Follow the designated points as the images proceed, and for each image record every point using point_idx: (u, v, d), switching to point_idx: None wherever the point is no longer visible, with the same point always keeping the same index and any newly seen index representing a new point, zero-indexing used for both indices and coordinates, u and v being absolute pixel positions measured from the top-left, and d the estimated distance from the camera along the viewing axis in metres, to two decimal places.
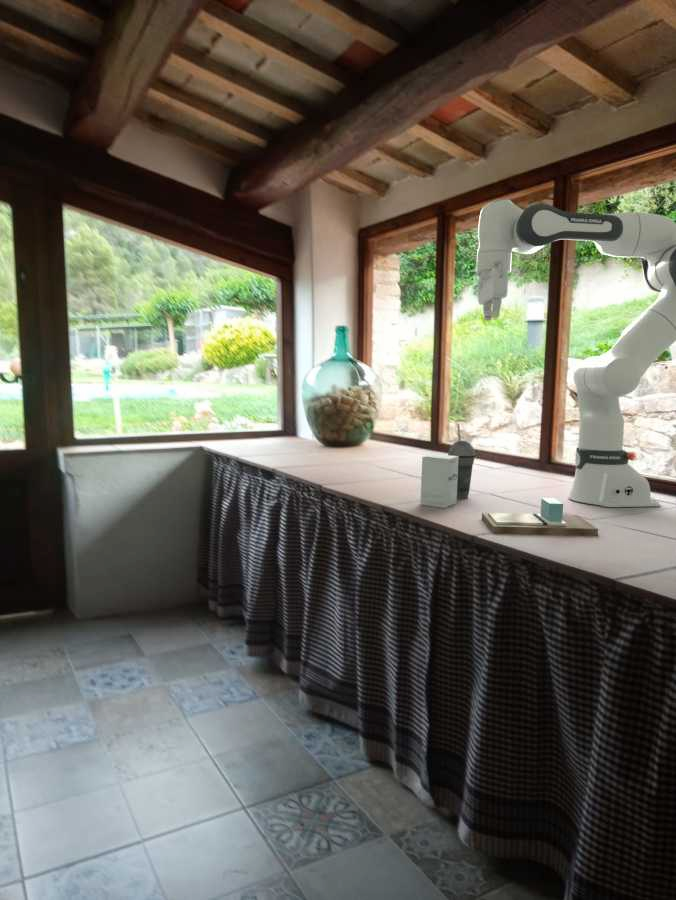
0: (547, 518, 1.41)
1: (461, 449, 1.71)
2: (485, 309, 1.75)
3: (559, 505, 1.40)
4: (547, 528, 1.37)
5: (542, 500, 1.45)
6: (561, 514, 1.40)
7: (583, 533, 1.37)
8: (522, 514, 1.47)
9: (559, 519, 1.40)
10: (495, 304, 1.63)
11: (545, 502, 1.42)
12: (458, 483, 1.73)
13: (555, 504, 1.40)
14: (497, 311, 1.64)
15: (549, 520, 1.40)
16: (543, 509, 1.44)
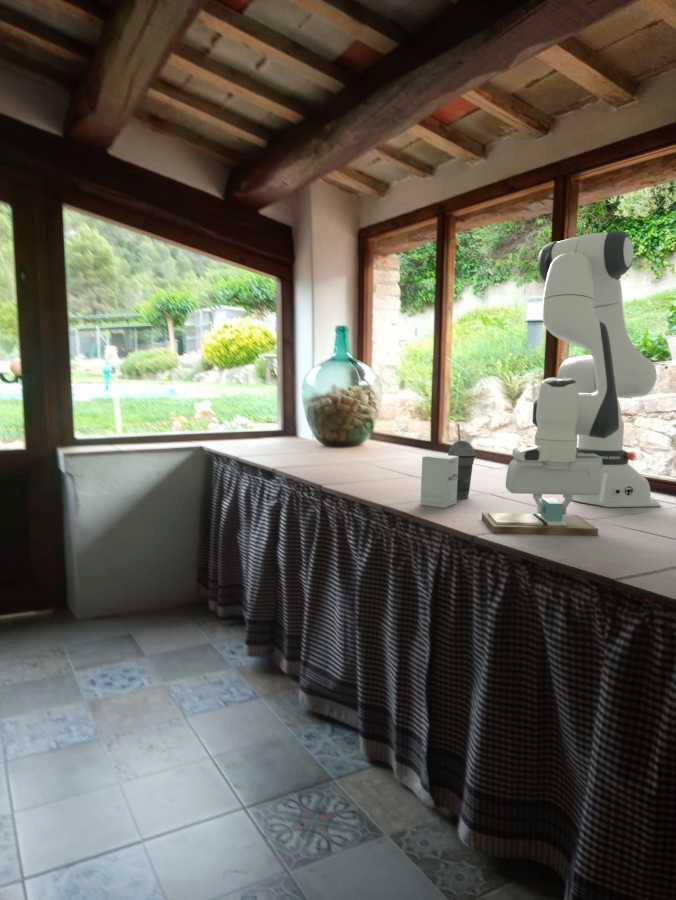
0: (547, 518, 1.41)
1: (461, 449, 1.71)
2: None
3: (559, 505, 1.40)
4: (547, 528, 1.37)
5: (542, 500, 1.45)
6: (561, 514, 1.40)
7: (583, 533, 1.37)
8: (522, 514, 1.47)
9: (559, 519, 1.40)
10: None
11: (545, 502, 1.42)
12: (458, 483, 1.73)
13: (555, 504, 1.40)
14: None
15: (549, 520, 1.40)
16: None
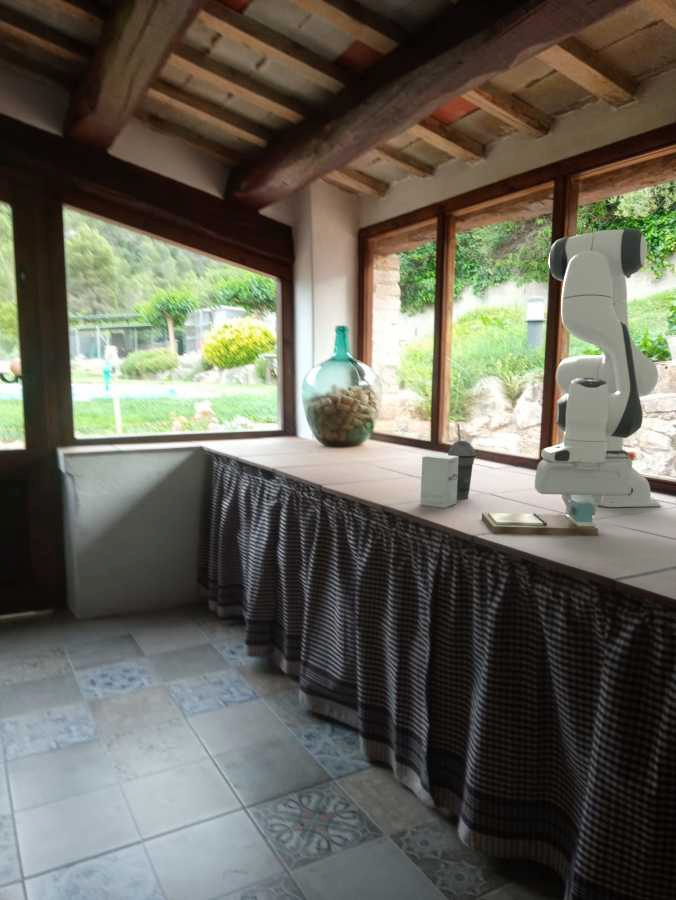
0: (577, 519, 1.41)
1: (461, 449, 1.71)
2: (568, 501, 1.42)
3: (589, 506, 1.39)
4: (547, 528, 1.37)
5: (571, 501, 1.45)
6: (591, 515, 1.40)
7: (583, 533, 1.37)
8: (522, 514, 1.47)
9: (589, 520, 1.40)
10: None
11: (574, 503, 1.42)
12: (458, 483, 1.73)
13: (585, 505, 1.39)
14: None
15: (579, 521, 1.40)
16: None
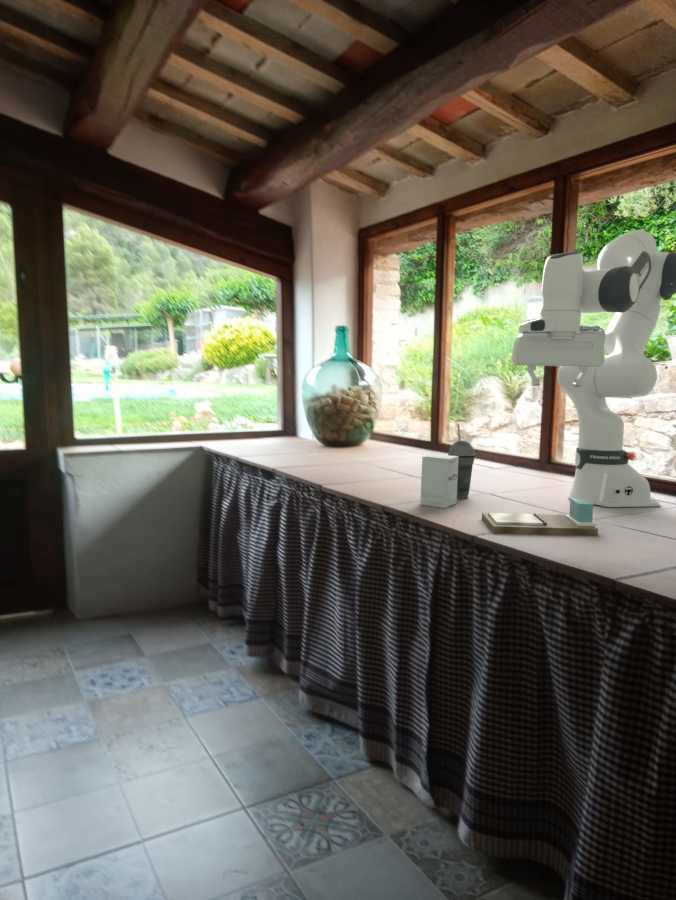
0: (577, 519, 1.41)
1: (461, 449, 1.71)
2: None
3: (589, 506, 1.39)
4: (547, 528, 1.37)
5: (571, 501, 1.45)
6: (591, 515, 1.40)
7: (583, 533, 1.37)
8: (522, 514, 1.47)
9: (589, 520, 1.40)
10: None
11: (575, 503, 1.42)
12: (458, 483, 1.73)
13: (585, 505, 1.39)
14: None
15: (579, 521, 1.40)
16: (572, 510, 1.44)
